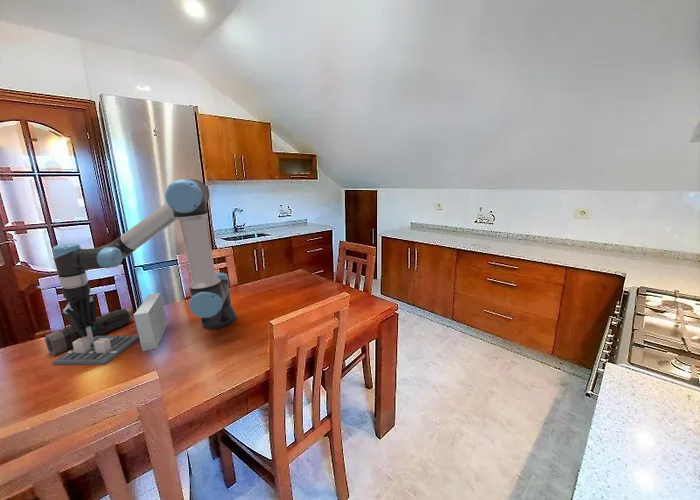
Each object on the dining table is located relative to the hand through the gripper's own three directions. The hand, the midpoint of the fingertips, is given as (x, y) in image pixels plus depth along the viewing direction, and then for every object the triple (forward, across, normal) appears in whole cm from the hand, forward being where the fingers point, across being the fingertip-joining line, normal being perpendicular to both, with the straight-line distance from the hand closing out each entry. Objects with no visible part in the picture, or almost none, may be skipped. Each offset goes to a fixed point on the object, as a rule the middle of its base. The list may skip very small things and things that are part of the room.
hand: (89, 342), depth 116 cm
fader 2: (+2, +3, +8) cm, 9 cm away
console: (+3, 0, +4) cm, 5 cm away
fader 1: (+2, +3, 0) cm, 4 cm away
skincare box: (+4, -9, +19) cm, 22 cm away
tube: (+4, -10, -6) cm, 13 cm away
